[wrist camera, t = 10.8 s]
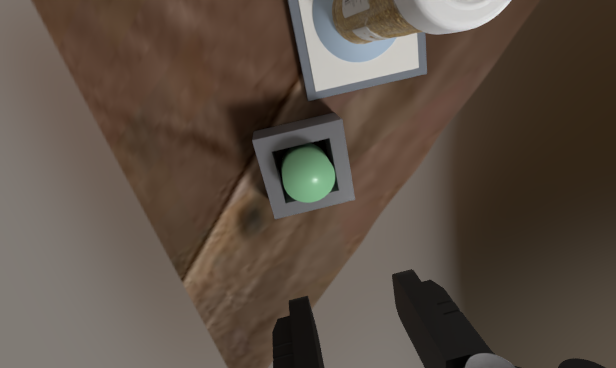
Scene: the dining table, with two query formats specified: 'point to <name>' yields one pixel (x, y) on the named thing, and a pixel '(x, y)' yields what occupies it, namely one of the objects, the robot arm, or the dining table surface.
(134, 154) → the dining table surface
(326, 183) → the button
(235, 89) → the dining table surface
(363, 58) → the tray with round recess
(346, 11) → the sprinkles bottle
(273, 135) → the button box
